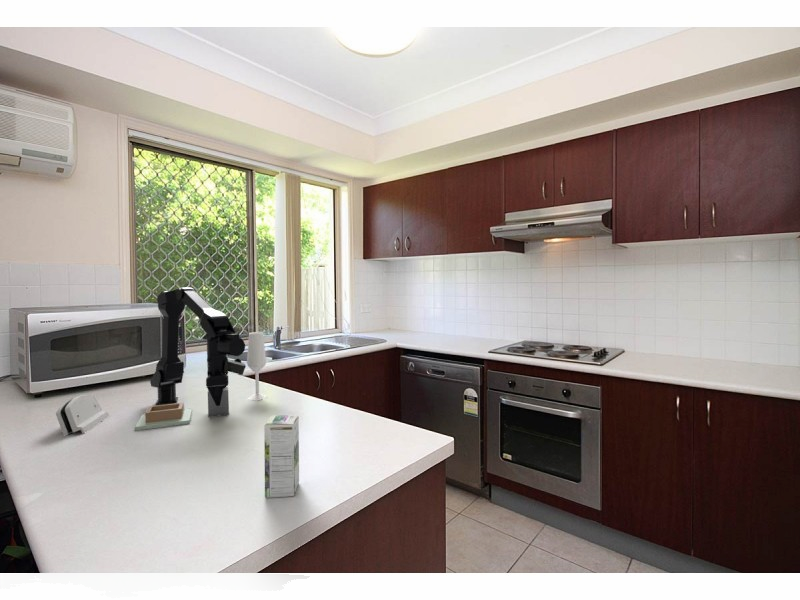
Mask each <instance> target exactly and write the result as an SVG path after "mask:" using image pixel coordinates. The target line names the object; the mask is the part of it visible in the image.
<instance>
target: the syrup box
mask: <svg viewBox="0 0 800 600" xmlns="http://www.w3.org/2000/svg"><path fill="white" fill-rule="evenodd" d="M299 417H300V416H299V415H295V414H277V415H276V414H275V415H271V416H270V417H269V419H268V421H266V423H265V424H264V431H263V432H264V434H263V435H264V498H265V499H272V498H284V497H285V498H286V497H295V495H296V492H297V490H298V486H299V483H300V451H299V450H300V432H299V431H300V428H299V427H300V425H299V422H300V420H299Z"/></svg>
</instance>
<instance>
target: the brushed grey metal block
mask: <svg viewBox="0 0 800 600" xmlns="http://www.w3.org/2000/svg"><path fill="white" fill-rule="evenodd" d="M229 398H230V397H229V386H226V387H225V388H224V389H223V392H222V398H221V403H220V406H216V404H215V402H214V400H213V398H212V396H211V394H210V392H209V390H208V389H207V414H208V416H207V418H212V416H213V417H219V416H229V415H230V408H229V407H230V406H229V405H230V404H229V403H230V402H229Z"/></svg>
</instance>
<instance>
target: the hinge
mask: <svg viewBox="0 0 800 600" xmlns="http://www.w3.org/2000/svg"><path fill="white" fill-rule="evenodd" d="M55 416H56V419H57V421H58V423H59V426H60V429H61V431H62V433H63V434H62V435H63V436H64V435H66V436H68V435H70V434H71V433H73V434H74V433H76V432H78V431H80V432H81V433H82V434H83V433H85V432H86V433H88V432H89V431H91V430H92V429H93V427H94V426H95V427H96V426H98V425H99V424H101V423H102V422H104V421H105V420H106V419H105V418H107V417H108V416H109V417H110V415H109V412H108V411H107V410H103V408H102V406H100V403H99V401H98V400H97V398H96V396H95V394H91V393H90V394H82V395H78V396H76V397H74V398H70V399H69V400H67V401H65V402H64V403H62V404H61V405H60V407H59V408H58V409H57V410H56V412H55ZM109 417H108V418H109ZM108 418H107V419H108ZM104 419H105V420H104ZM103 420H104V421H103ZM101 421H102V422H101ZM100 422H101V423H100ZM98 423H99V424H98ZM97 424H98V425H97ZM95 427H94V428H95ZM91 428H92V429H91ZM90 429H91V430H90ZM88 430H89V431H88ZM87 431H88V432H87ZM86 433H85V434H86Z"/></svg>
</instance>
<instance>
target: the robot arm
mask: <svg viewBox="0 0 800 600" xmlns="http://www.w3.org/2000/svg"><path fill="white" fill-rule="evenodd" d="M156 303H157V308H158V311H160V313H161V315H162V345H161V347H162V350H161V358H160V359H159V361H158V362H157V363H156V365H155V366H156V367H155V371H154V373H153V375H152V377H151V378H150V379H149V383H150V386H151V387H153V388H157V400H156V402H155V406H156V405H166V404H175V403H178V399H179V397H178V396H177V384H181V383H182V382H183V378H184V373H185V370H184V367H185V363H184V361H181V359H180V358H179V337H180V336H179V335H180V334H179V333H180V316H181V315H182V313H184V310H185V308H186V306H187V307H188V308H189V309H190V311H192V313H194V315H195V316H196V317H197V318H198V319H199V325H200V327H201V328H202V329H203V331H204V333H206V334H204V336H203V337H202V339H203V340H205V341H206V355H207V356H206V363H207V364H206V366H207V373H206V374H207V377H206V379H205V387H206V389H207V391H208V390H209V392H210V394H211V396H212V398H213V400H214V402H215V404H216V406H220V403H221V398H222V392H223V389H224V388H225V387H229V386H228V385H229V375H228V374H229V372H230V373H233V374H237V375H239V376H243V375H244V372H245V369H246V366H247V364H246V363H244V362H242V359H241V358H239V356H241V355H243V354H244V353H245V352H244V351H245V349H246V344H245V341H244V340H243V339H242V338H241V337H240V334H239V333H237V332H236V331H235V330H236V329H235V328H234V326H233V325H232V322H231V321H230V319H229V316H228V315H227V314H225V312H224V313H223V312H222V311H221V310H217V309H214V308H212V307H211V306H210V305H209V303H207V302H206V301H205V300H204V299H203V298H202V297H201V296H200V295H199V294H198V293H197V292H196V290H195V289H194V288H192V287H179V288H177V289H172V290H167V291H166V290H164V291H163V290H162V291H160V293H159V294H158V295H157V297H156ZM229 356H233V357H236V358H235V359H232V360H231V359H229Z"/></svg>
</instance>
